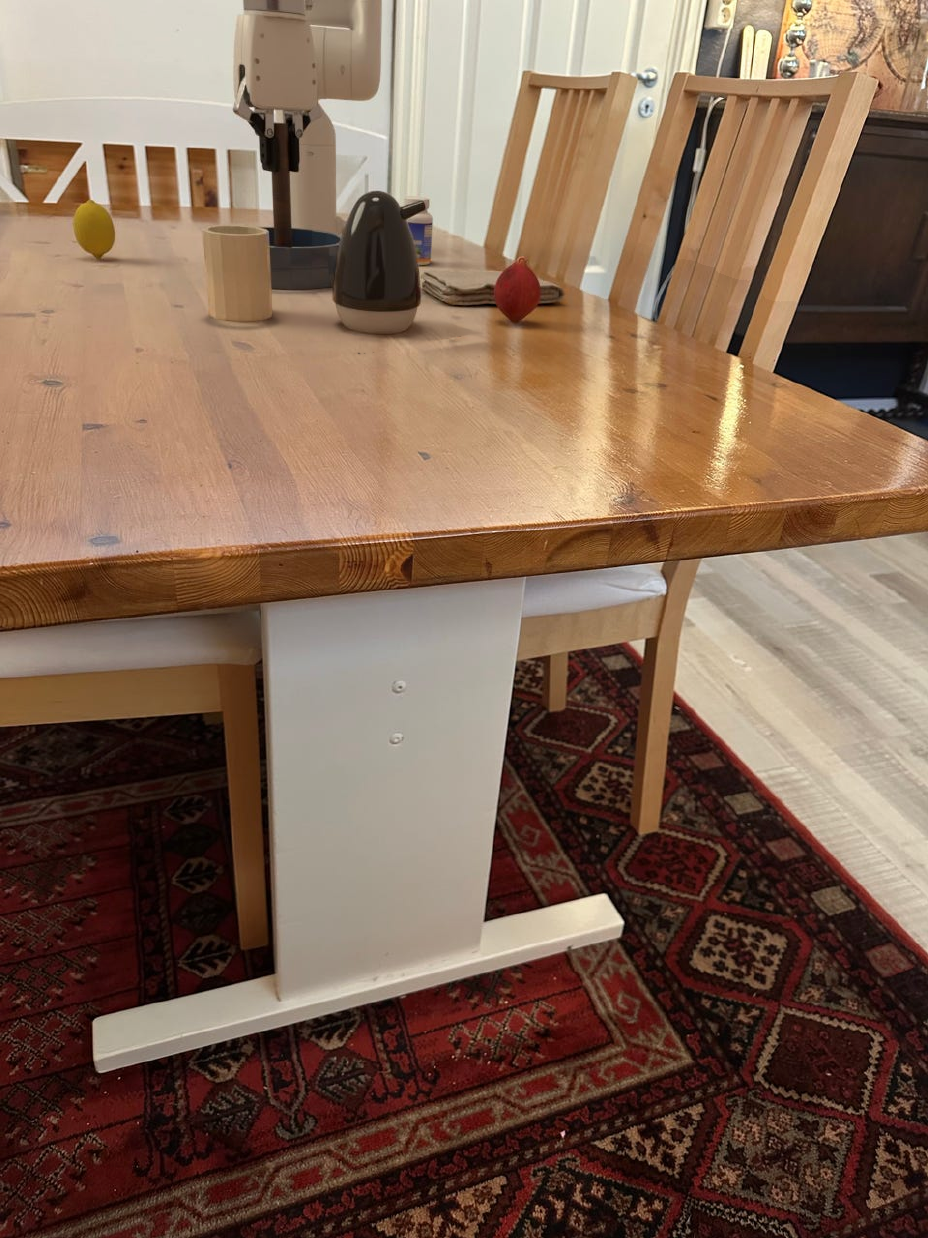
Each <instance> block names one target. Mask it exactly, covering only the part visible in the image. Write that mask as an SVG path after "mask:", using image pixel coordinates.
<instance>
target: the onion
mask: <svg viewBox="0 0 928 1238" xmlns="http://www.w3.org/2000/svg"><path fill="white" fill-rule="evenodd" d="M527 262H528V259H527V258H526V256H524V255H523V256H519V257H518V258H517V259H516V260H515V261H514V262H513V263H511V265H508V266H507V267H506V268H505V269H504V270H502V271H503V272H502V273H501V274H500V276H499V277H498V279H497V281H496V284H495V289H494V298H495V302H496V304H495V305H496V308H498V310H499V311H500V313H501V314H502V315H503V316H504V317H506V318H507V319H508V320H509V321H510V322H511V323H514V324H517V323H520V322H521V321H522V320H523V319H525V318H526V317H527V316H528V315H530V314H531V313H532V312H533V311H534V310H535V309H536V308H537V307H538V305H539V304H538V303H539V301H540V296H541V287H540V284H539V281H538V279H537V278H538V277H537V275H536V274H535V272H534V271H533V270H532V269H531V268H530V267H529V266H528V265H527Z"/></svg>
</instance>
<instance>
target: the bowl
mask: <svg viewBox="0 0 928 1238" xmlns="http://www.w3.org/2000/svg"><path fill="white" fill-rule="evenodd" d="M258 227H259V228H263V229H266V230H268V231H269V246H270V269H271V290H292V291H293V290H317V289H326V288H327V289H328V288H332V285H333V276H334V268H335V261H336V256H337V251H338V247H339V243H340V240H341V235H338V234H334V233H330V232H325V231H319V230H312V229H302V228H292V247H279V246H275V245H274V226H258Z"/></svg>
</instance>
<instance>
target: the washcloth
mask: <svg viewBox="0 0 928 1238" xmlns="http://www.w3.org/2000/svg"><path fill="white" fill-rule="evenodd" d="M503 271H504V270H501V271H500V270H493V269H492V270H489V269H488V270H484V269H483V270H481V269H478V270H446V269H445V270H440V269H439V270H433V269H431V270H426V271H424V272H423V273H422V274H421V275H420V279H422V280H424V281H422V282H421V289H423V290H424V291H425V292H427V293H429V294H430V295H431V296H433V297H435V298H437V299H439V300H440V301H441V302H445V303H446V304H449V305H453V306H455V305H456V306H457V305H458V306H461V305H462V306H472V305H484V304H491V305H496V302H495V298H494V289H495V284H496V281H497V279H498V277H499V276H500V274H501V273H502V272H503ZM537 279H538V281H539V284H540V287H541V296H540V301H539V303H538V305H539V304H552V303H553V304H554V303H556V302H557V303H558V302H560V301H562V299H563V298H564V297H565V291H564V289H563V288H562V287H561V286H559V285H558V284H555V283H553V282H551V281H549V280H546V279H545V280H544V279H541V278H540V277H537Z"/></svg>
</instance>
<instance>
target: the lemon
mask: <svg viewBox="0 0 928 1238" xmlns="http://www.w3.org/2000/svg"><path fill="white" fill-rule="evenodd" d="M73 231H74V237H75V239H76V241H77V244H78V245H79V246H80V247H81V248H82V250H83V251H85V252H86V253H89V254H90V255H92V256H93V257H94V258H95V259H97V260H100V259H102V258H103V256H104V255H105V254H107V253H109V252H111V250H112V248H113V247H114V245H115V242H116V229H115V224H114V222H113V219H112V216H111V214H110V213H109V212H108V210H107V209H106V208H105V207H104V206H103V205H101V204H99V203H97V202H95V200H93V199H87V201H86V202H84V203H82V204H81V205H80V206H78V207H77V209H76V211H75V212H74V216H73Z"/></svg>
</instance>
